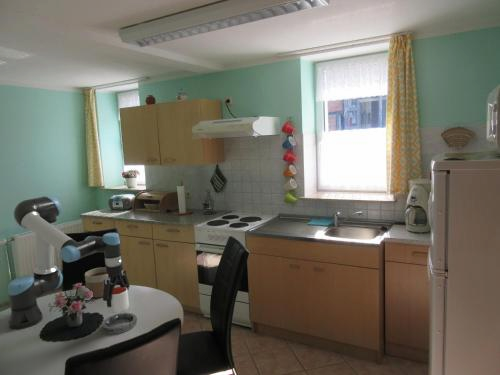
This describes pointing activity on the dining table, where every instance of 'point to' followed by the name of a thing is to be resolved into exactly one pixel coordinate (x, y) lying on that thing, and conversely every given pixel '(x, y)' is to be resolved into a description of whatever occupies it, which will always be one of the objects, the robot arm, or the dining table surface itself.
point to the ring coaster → (119, 323)
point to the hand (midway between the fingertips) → (118, 307)
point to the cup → (120, 299)
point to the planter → (96, 281)
